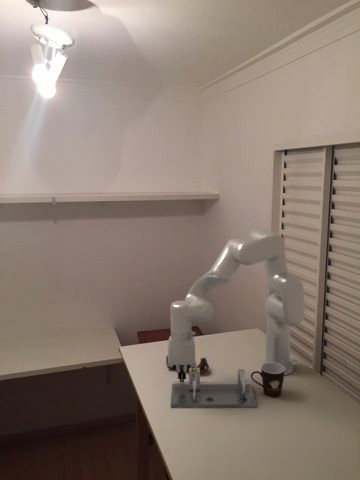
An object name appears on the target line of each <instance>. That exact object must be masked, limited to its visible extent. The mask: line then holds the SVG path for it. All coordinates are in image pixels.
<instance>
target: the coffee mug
mask: <svg viewBox="0 0 360 480" xmlns="http://www.w3.org/2000/svg"><path fill="white" fill-rule="evenodd" d="M284 373H285V367H284V366H283V365H281V364H278V363H273V362H269V363H264V364H263V365H262V364H261V366H260V371H258V370H254V371H253V372H252V373H251V374H250V378H251V380H252V381H253V382H254V383H256V384H257V385H259V386H260V387H262V391H263V394H264V395H265V396H266V397H268V398H274V399H275V398H279V397H281V395H282V391H283V390H282V389H283V385H284V384H283V383H284V379H285V375H284ZM254 374H259V375H260V376H261V381H262V383H260V382H258V381H257V380H255V379H254V377H253V375H254Z"/></svg>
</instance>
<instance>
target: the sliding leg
mask: <svg viewBox="0 0 360 480" xmlns="http://www.w3.org/2000/svg"><path fill="white" fill-rule="evenodd" d="M197 366H198V365H196V366H195V367H192V368H189V370H188V382H189V389H193V399H196V389H200V382H201V371H200V368H197Z"/></svg>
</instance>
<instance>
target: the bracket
mask: <svg viewBox="0 0 360 480" xmlns="http://www.w3.org/2000/svg"><path fill="white" fill-rule="evenodd" d="M165 361H166V362H165V363H166V367H167V369H174V368H173V367H169V366H167V364H168V354H167V355H166V358H165ZM196 366H197V368H200V372H207V371H209V369H210V365H209V363H208V360H207V358H206V356H204V357H201V358H200V362H199V364H198V365H196ZM183 367H184V365H180V368H181V369H182V368H183ZM190 368H192V367H190ZM187 371H189V369H188V370H187Z"/></svg>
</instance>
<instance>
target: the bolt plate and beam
mask: <svg viewBox="0 0 360 480" xmlns="http://www.w3.org/2000/svg"><path fill="white" fill-rule="evenodd" d="M170 394H171V396H170V408H178V409H181V408H185V409H186V408H191V409H192V408H197V409H198V408H199V409H200V408H203V409H204V408H206V409H207V408H257V403H256V398H255V395H254V391H253V386H252V384H251V383H250V381H248V380H246V371H245V368H237V380H236V381H230V380H229V381H228V380H227V381H224V380H223V381H219V380H217V381H215V380H214V381H200V389H196V399H193V389H189V381H184V382H180V381H174V383H172V384H171V393H170Z"/></svg>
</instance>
